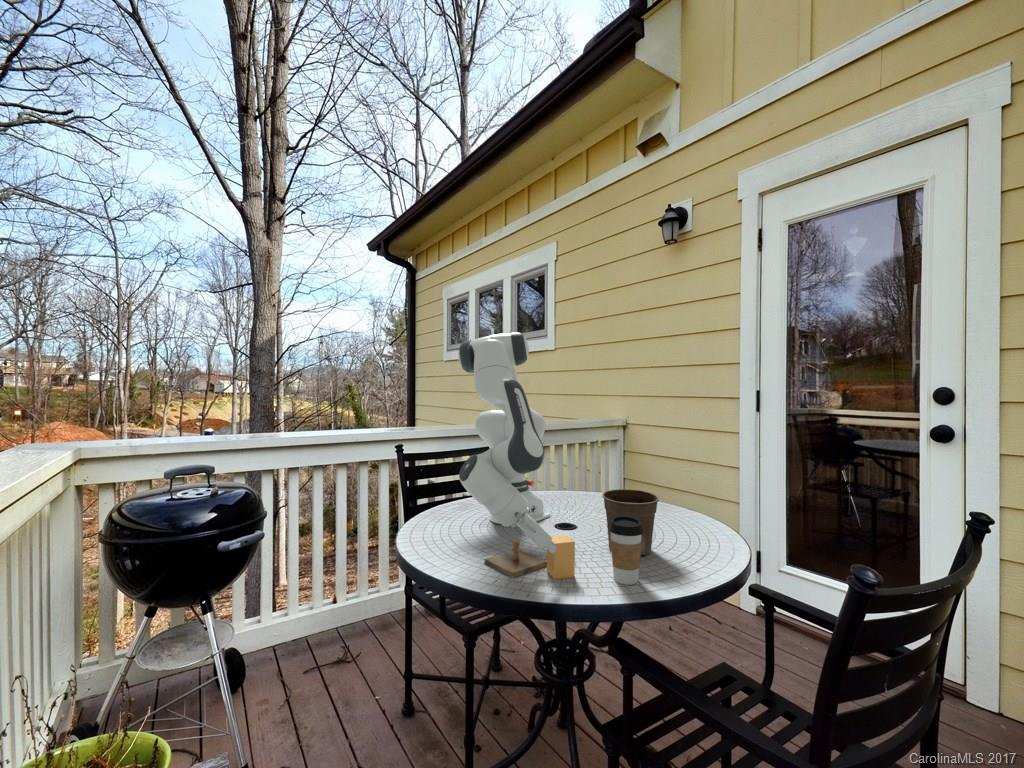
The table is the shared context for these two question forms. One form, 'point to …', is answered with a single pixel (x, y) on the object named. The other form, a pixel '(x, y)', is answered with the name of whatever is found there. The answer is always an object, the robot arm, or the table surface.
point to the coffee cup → (626, 548)
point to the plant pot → (633, 511)
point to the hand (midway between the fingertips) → (547, 544)
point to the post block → (515, 561)
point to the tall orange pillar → (561, 558)
